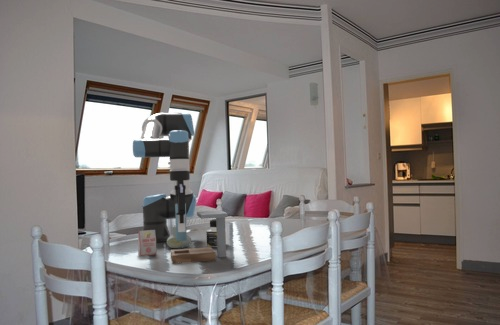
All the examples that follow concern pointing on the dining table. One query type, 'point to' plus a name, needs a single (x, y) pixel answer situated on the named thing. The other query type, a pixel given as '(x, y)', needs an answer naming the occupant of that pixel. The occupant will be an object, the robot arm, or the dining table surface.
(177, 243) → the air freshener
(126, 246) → the dining table surface
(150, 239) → the tea box
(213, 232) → the medicine bottle
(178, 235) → the peg
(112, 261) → the dining table surface
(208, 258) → the socket board
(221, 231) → the grey angled stand
